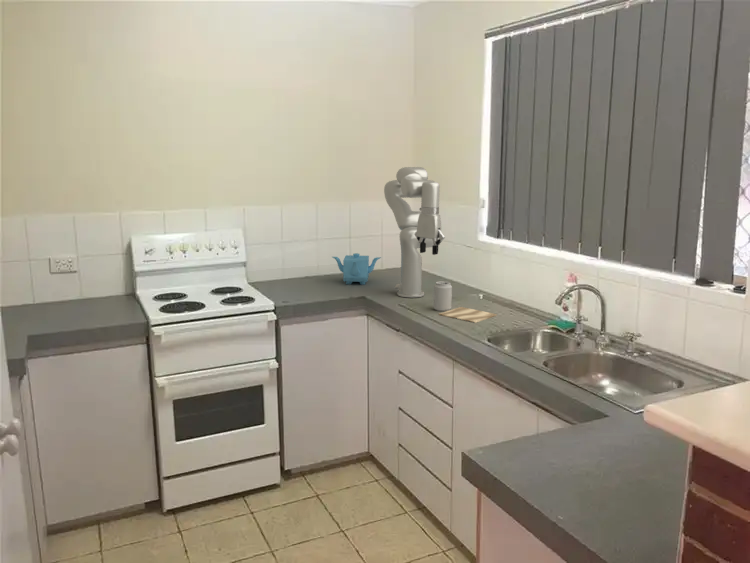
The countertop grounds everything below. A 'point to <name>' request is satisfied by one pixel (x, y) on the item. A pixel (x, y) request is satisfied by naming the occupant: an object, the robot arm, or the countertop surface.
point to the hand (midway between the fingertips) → (428, 253)
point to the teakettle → (356, 268)
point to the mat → (468, 314)
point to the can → (442, 296)
